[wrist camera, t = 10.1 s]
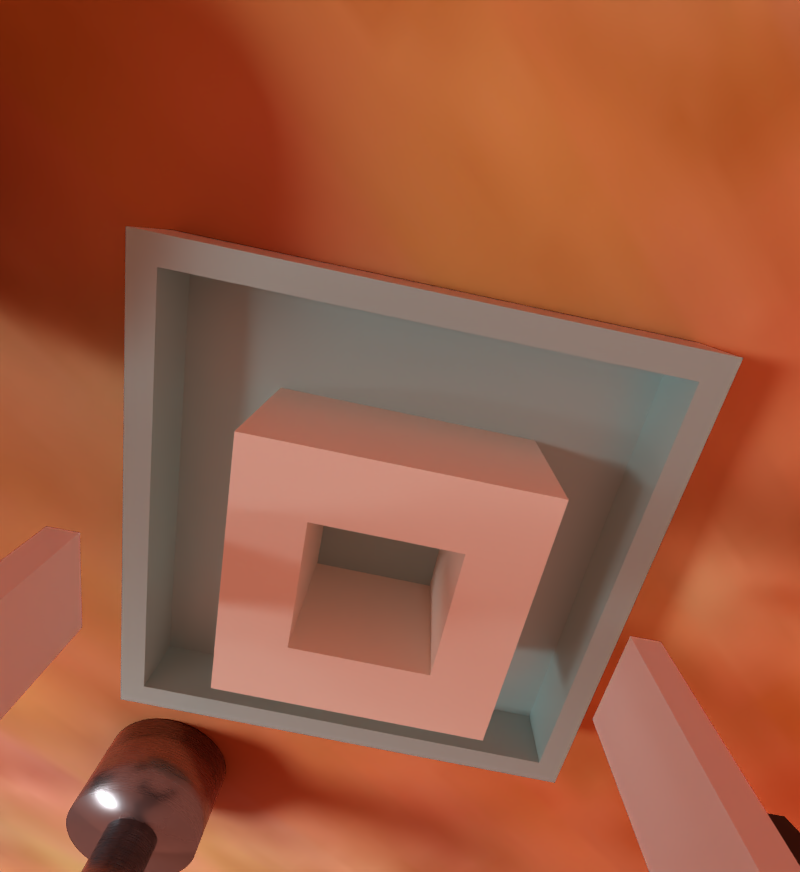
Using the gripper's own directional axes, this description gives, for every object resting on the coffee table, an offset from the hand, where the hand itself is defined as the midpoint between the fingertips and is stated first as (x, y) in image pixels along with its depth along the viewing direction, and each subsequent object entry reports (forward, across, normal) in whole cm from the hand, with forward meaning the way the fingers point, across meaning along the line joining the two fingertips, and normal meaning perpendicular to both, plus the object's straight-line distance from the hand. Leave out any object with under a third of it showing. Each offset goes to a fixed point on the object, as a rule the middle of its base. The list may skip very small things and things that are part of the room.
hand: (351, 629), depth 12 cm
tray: (+6, 0, 0) cm, 6 cm away
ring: (+5, 0, 0) cm, 5 cm away
